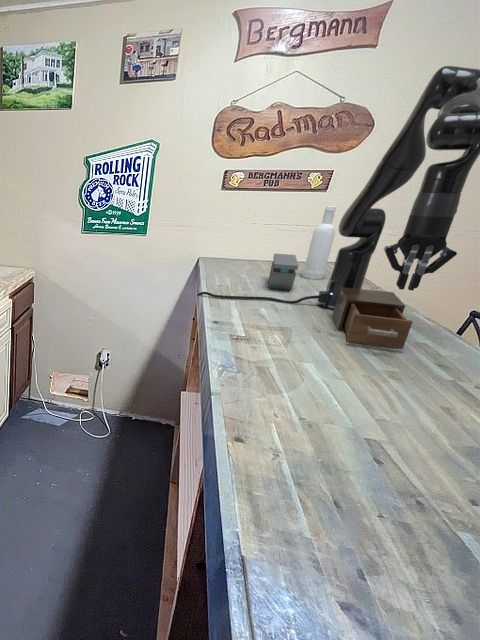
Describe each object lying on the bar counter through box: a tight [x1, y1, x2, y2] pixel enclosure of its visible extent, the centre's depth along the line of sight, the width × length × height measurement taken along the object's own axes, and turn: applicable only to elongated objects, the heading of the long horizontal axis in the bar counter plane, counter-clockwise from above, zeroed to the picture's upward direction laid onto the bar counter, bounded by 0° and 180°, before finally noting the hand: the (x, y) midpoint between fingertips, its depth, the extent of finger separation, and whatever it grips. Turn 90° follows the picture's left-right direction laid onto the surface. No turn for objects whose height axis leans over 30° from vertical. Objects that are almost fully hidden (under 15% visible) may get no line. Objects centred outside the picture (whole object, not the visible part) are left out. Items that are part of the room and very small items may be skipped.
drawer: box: [343, 303, 414, 350], centre depth 128 cm, size 20×12×8 cm, turn 151°
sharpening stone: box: [267, 253, 299, 291], centre depth 187 cm, size 25×8×11 cm, turn 151°
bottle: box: [301, 205, 337, 280], centre depth 197 cm, size 8×8×30 cm
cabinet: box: [332, 287, 406, 332], centre depth 140 cm, size 17×14×10 cm
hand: (405, 289), depth 109 cm, fingers closed
